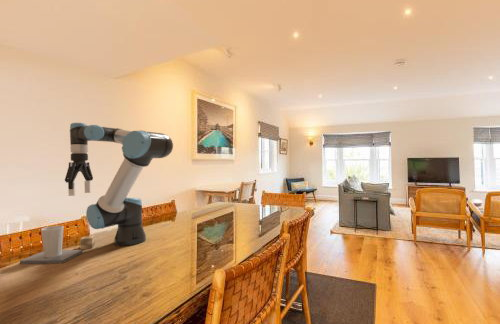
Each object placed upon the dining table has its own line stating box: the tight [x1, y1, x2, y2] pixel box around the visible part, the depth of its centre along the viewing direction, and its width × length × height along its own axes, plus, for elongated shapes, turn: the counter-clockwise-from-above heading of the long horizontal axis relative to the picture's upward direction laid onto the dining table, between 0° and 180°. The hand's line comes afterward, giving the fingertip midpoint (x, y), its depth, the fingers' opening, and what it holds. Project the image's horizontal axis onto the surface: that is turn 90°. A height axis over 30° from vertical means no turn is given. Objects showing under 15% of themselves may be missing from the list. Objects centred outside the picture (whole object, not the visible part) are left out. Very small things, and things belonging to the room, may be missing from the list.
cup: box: [40, 225, 65, 258], centre depth 117 cm, size 8×8×12 cm
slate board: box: [19, 249, 84, 264], centre depth 117 cm, size 18×13×1 cm
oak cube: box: [79, 235, 96, 250], centre depth 131 cm, size 5×5×5 cm
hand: (80, 194), depth 137 cm, fingers open, 13 cm apart
